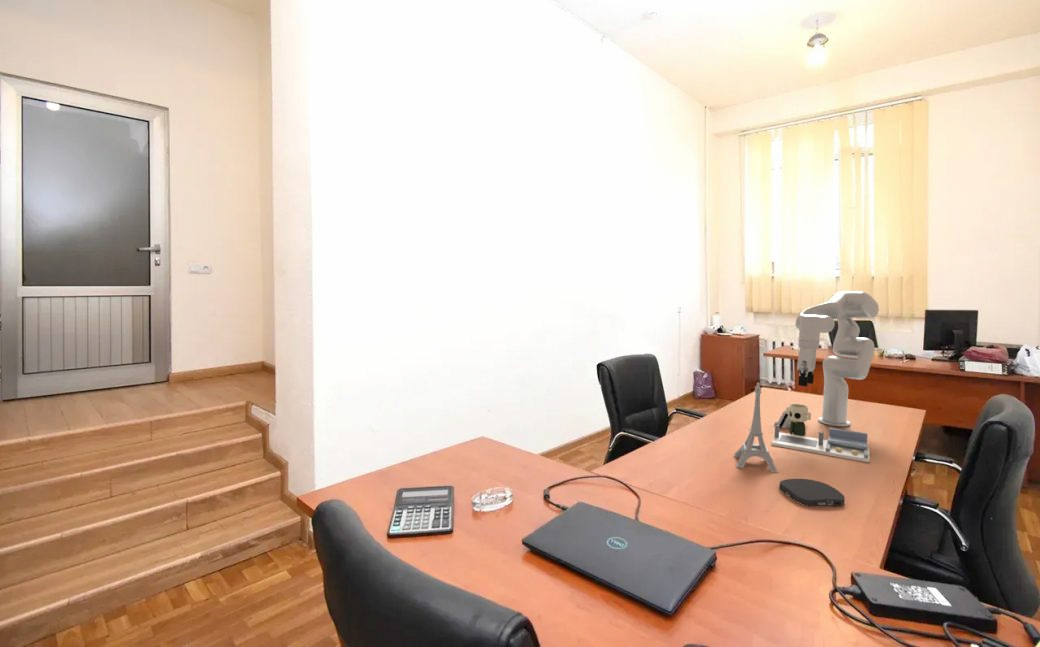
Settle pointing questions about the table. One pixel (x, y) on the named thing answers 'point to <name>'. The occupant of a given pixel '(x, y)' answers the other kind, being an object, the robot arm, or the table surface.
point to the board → (819, 446)
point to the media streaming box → (812, 492)
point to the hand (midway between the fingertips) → (805, 384)
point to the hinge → (784, 420)
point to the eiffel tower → (755, 431)
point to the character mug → (798, 418)
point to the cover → (848, 438)
